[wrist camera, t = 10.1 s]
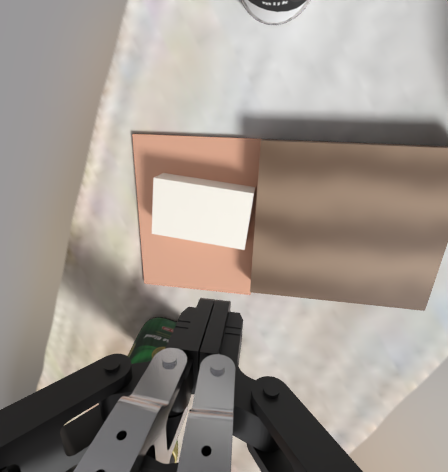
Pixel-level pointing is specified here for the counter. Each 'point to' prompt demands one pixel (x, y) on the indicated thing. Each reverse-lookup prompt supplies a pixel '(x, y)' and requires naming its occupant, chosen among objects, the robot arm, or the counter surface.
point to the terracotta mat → (185, 251)
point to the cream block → (201, 210)
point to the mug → (274, 10)
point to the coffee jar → (153, 348)
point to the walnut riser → (350, 221)
